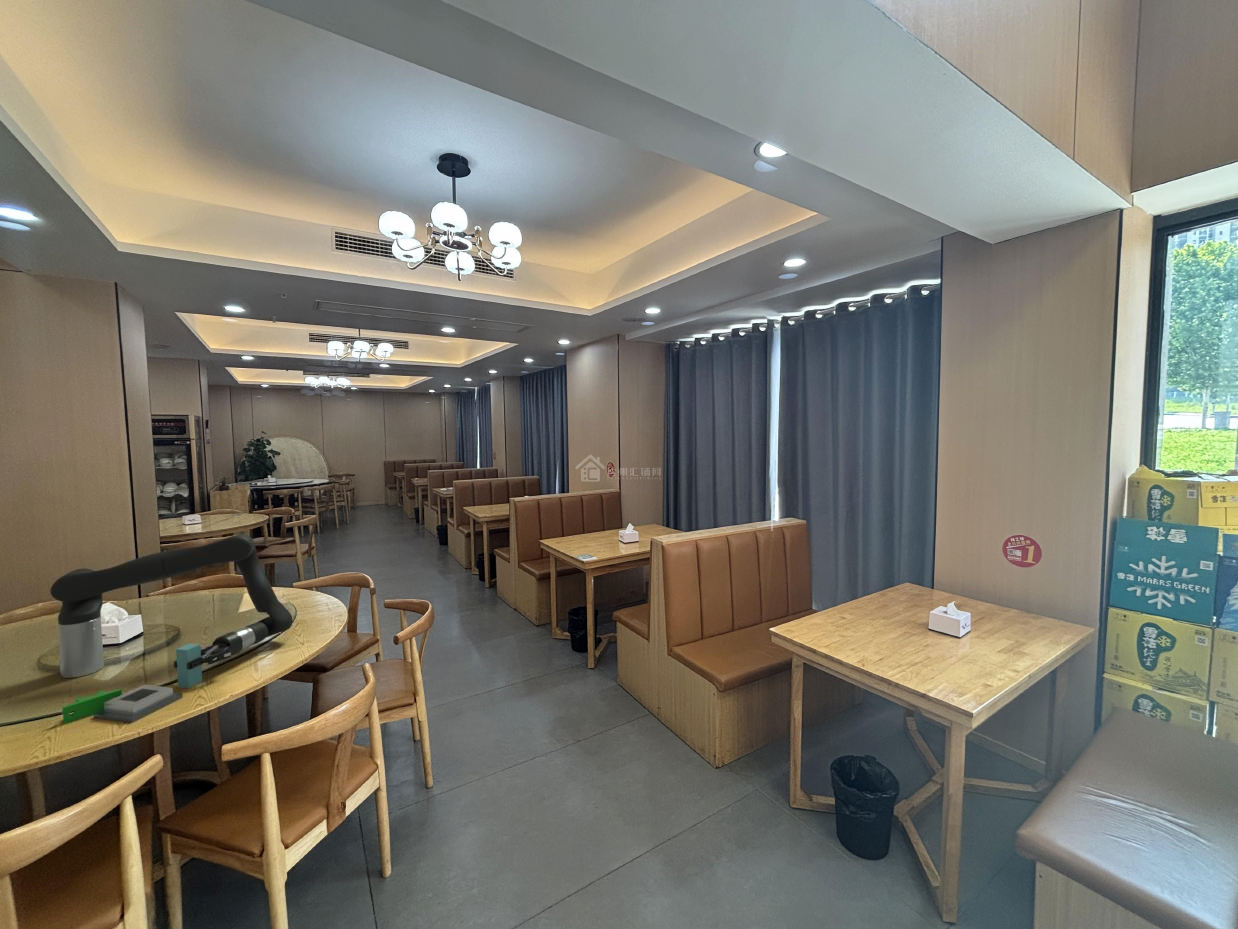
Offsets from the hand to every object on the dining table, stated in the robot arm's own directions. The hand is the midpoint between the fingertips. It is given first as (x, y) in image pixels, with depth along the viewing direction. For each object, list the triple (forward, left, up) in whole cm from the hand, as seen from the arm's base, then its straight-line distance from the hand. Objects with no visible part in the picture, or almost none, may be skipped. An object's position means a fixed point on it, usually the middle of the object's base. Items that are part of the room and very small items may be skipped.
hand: (181, 665), depth 149 cm
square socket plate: (-1, -11, -7) cm, 13 cm away
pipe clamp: (-11, -15, -7) cm, 20 cm away
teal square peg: (0, +2, -7) cm, 7 cm away
